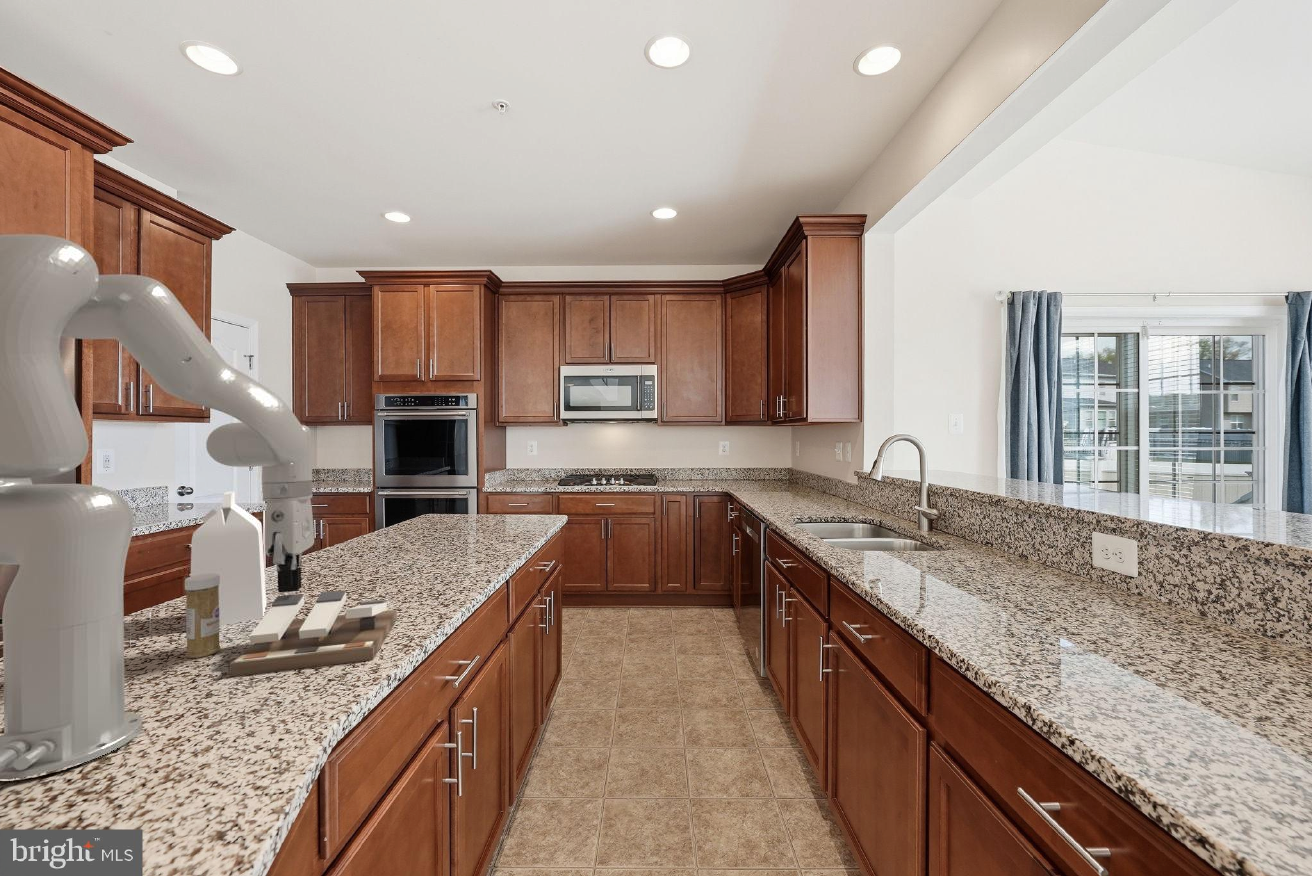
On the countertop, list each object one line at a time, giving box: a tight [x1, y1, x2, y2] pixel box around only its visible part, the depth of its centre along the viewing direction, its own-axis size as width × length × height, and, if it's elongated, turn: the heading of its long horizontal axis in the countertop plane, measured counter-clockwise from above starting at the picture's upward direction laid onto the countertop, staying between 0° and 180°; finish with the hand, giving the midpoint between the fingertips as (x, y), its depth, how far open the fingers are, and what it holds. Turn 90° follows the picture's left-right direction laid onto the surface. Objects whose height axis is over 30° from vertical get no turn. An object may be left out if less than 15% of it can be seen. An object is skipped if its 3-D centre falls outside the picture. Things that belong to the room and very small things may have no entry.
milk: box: [190, 491, 267, 627], centre depth 109 cm, size 12×12×26 cm
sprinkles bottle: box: [184, 573, 221, 659], centre depth 90 cm, size 5×5×14 cm
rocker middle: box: [299, 590, 347, 639], centre depth 93 cm, size 12×4×2 cm, turn 16°
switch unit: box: [229, 609, 398, 677], centre depth 93 cm, size 20×20×4 cm
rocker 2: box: [345, 599, 388, 619], centre depth 95 cm, size 12×4×2 cm, turn 16°
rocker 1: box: [249, 593, 305, 645], centre depth 91 cm, size 12×4×2 cm, turn 16°
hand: (289, 590), depth 96 cm, fingers closed
